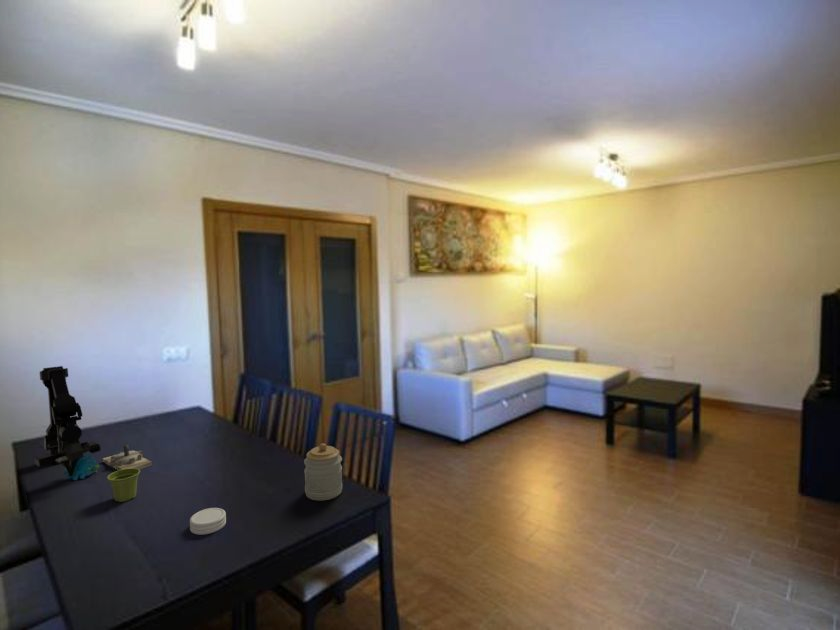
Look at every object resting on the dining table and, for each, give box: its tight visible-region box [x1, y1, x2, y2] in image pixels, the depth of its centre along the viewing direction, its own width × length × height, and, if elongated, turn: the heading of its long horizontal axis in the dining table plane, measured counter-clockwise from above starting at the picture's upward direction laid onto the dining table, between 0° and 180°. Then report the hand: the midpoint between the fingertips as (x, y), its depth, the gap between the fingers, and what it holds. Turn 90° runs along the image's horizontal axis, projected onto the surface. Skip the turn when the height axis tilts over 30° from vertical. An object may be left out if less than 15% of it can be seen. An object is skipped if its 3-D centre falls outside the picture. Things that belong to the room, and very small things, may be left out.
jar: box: [303, 443, 343, 502], centre depth 159 cm, size 13×13×18 cm
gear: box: [63, 453, 100, 481], centre depth 174 cm, size 11×6×10 cm
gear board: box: [102, 444, 153, 471], centre depth 184 cm, size 20×11×8 cm, turn 55°
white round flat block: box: [189, 507, 227, 536], centre depth 138 cm, size 10×10×4 cm
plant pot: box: [106, 468, 141, 503], centre depth 155 cm, size 9×9×9 cm
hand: (70, 475), depth 169 cm, fingers closed
